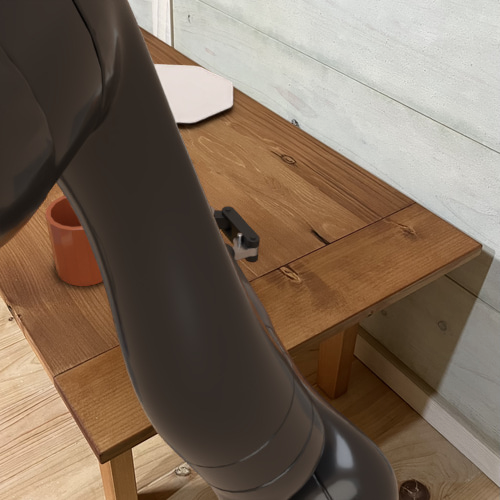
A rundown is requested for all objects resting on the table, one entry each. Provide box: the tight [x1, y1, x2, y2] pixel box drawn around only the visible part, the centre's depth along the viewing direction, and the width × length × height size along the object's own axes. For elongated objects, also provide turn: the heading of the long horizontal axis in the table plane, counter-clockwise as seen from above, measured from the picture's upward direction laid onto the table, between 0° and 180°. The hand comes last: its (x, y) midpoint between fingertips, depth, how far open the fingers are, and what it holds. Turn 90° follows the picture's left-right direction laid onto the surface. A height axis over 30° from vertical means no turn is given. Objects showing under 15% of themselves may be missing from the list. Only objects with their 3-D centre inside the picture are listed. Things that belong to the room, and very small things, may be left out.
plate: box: [154, 63, 234, 125], centre depth 115 cm, size 24×24×2 cm
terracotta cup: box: [45, 195, 103, 287], centre depth 76 cm, size 7×7×9 cm
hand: (156, 202), depth 60 cm, fingers closed on pill bottle, 6 cm apart
